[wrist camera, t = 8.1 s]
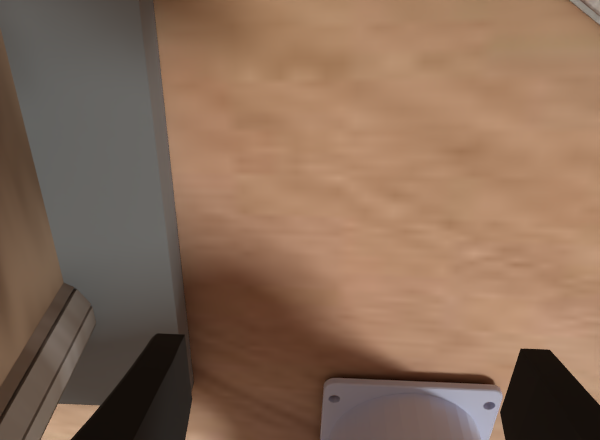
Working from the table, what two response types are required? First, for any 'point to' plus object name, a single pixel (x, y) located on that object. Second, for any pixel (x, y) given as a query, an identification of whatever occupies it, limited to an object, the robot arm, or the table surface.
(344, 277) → the table surface
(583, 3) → the wrench
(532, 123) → the table surface
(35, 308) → the door
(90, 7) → the hinge board
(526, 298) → the table surface
